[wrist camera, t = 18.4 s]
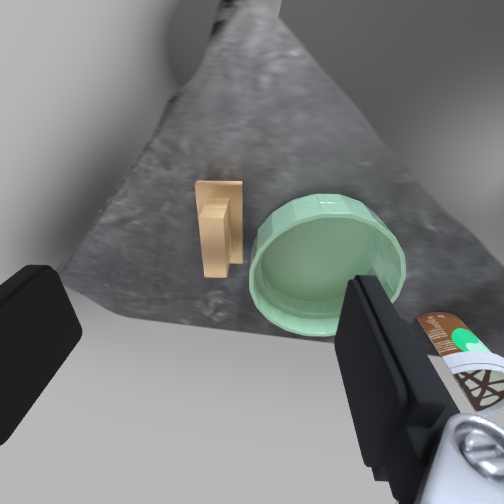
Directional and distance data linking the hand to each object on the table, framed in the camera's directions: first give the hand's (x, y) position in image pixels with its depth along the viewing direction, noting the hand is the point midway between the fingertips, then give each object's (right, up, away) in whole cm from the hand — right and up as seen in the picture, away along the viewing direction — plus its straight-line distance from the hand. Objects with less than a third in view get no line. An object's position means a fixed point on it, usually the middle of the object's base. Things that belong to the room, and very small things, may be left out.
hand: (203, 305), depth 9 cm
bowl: (+10, +1, +27) cm, 29 cm away
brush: (-2, +6, +25) cm, 26 cm away
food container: (+31, -9, +33) cm, 46 cm away
